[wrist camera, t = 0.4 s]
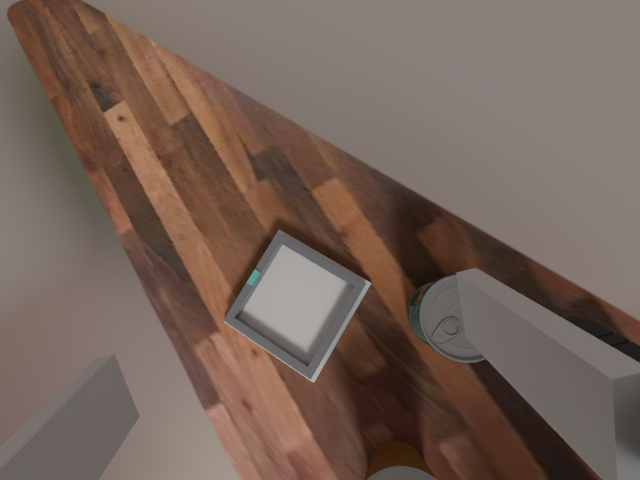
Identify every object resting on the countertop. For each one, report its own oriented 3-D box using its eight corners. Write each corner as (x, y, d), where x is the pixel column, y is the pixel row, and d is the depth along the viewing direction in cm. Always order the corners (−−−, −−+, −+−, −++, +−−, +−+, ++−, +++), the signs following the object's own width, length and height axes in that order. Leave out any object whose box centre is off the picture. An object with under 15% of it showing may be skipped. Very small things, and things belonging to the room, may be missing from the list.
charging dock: (371, 283, 44) (371, 282, 41) (314, 381, 43) (311, 386, 40) (280, 230, 47) (275, 226, 44) (225, 320, 46) (217, 321, 43)
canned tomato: (442, 268, 43) (466, 256, 32) (489, 319, 41) (531, 324, 30) (393, 309, 43) (401, 310, 32) (438, 361, 41) (462, 381, 30)
